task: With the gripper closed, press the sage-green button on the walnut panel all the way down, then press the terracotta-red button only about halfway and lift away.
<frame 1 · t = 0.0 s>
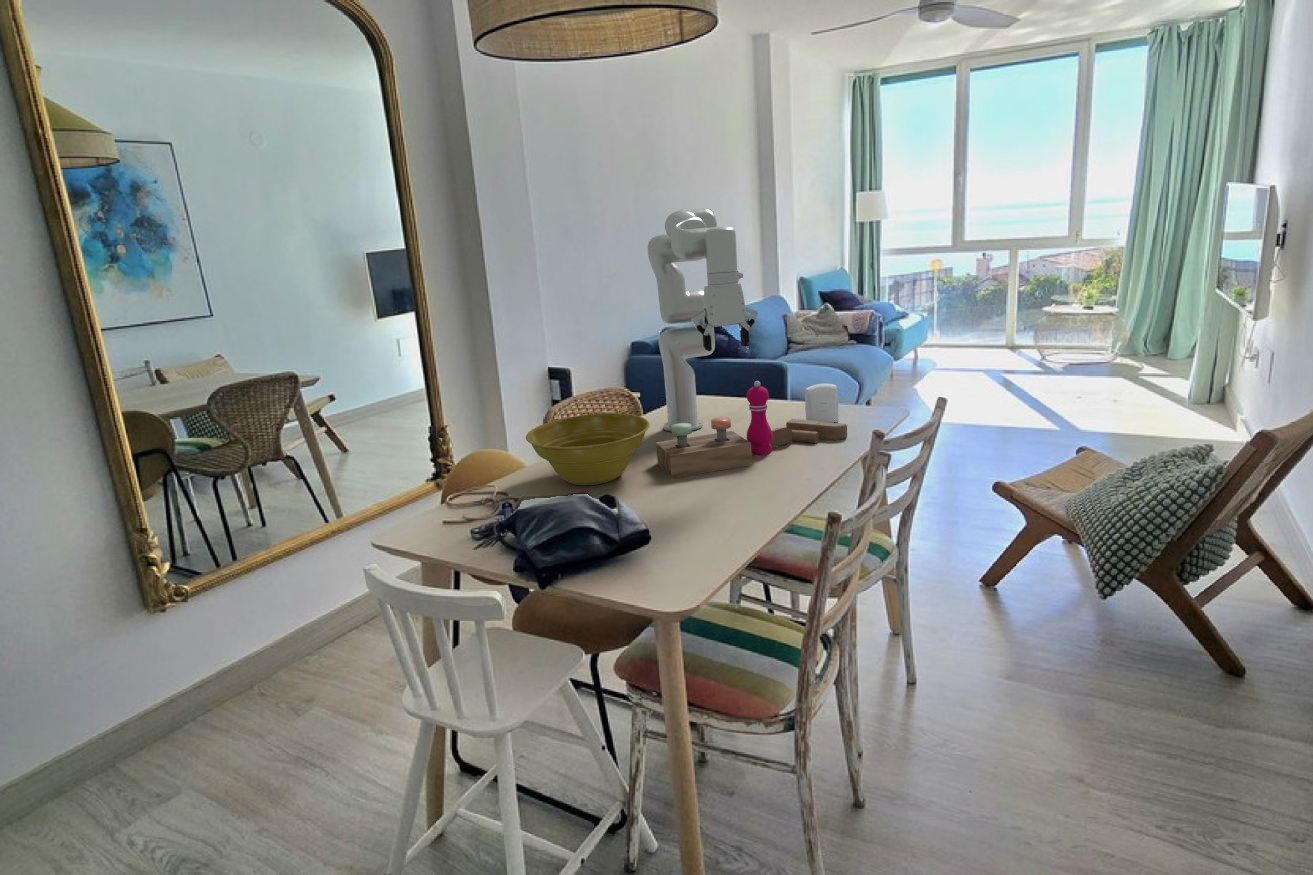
hand: (726, 348, 190), 31 cm above the table, tool pointing down, fingers open, 9 cm apart
green button: (682, 439, 198), point 8 cm above the table, slide at 0.0 cm
planter bowl: (593, 477, 198), on the table
pepper mill: (760, 452, 208), on the table
button panel: (703, 464, 201), on the table
photo printer: (822, 424, 232), on the table
wooden block set: (806, 444, 214), on the table
red button: (721, 433, 201), point 8 cm above the table, slide at 0.0 cm
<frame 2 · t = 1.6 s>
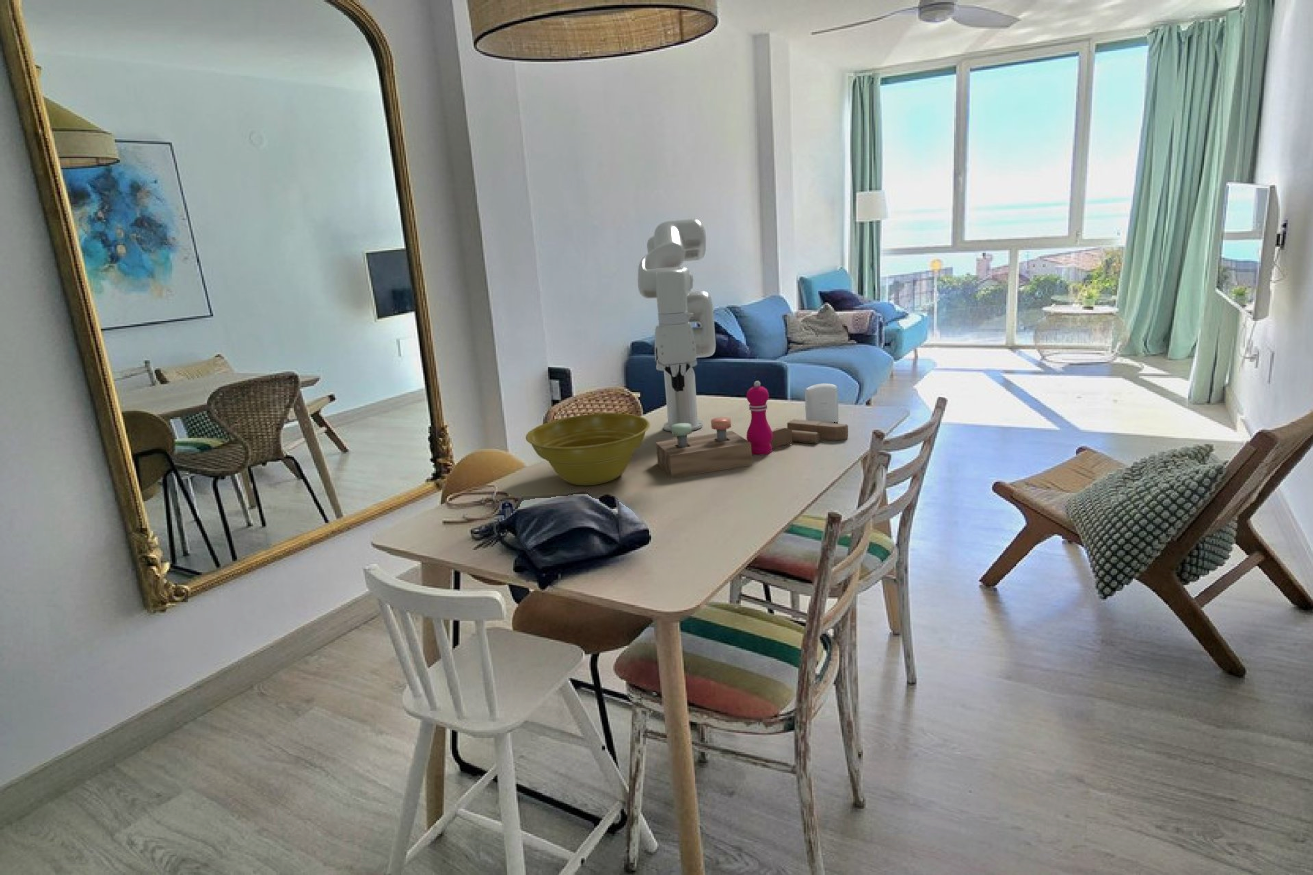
hand: (678, 390, 195), 21 cm above the table, tool pointing down, fingers closed
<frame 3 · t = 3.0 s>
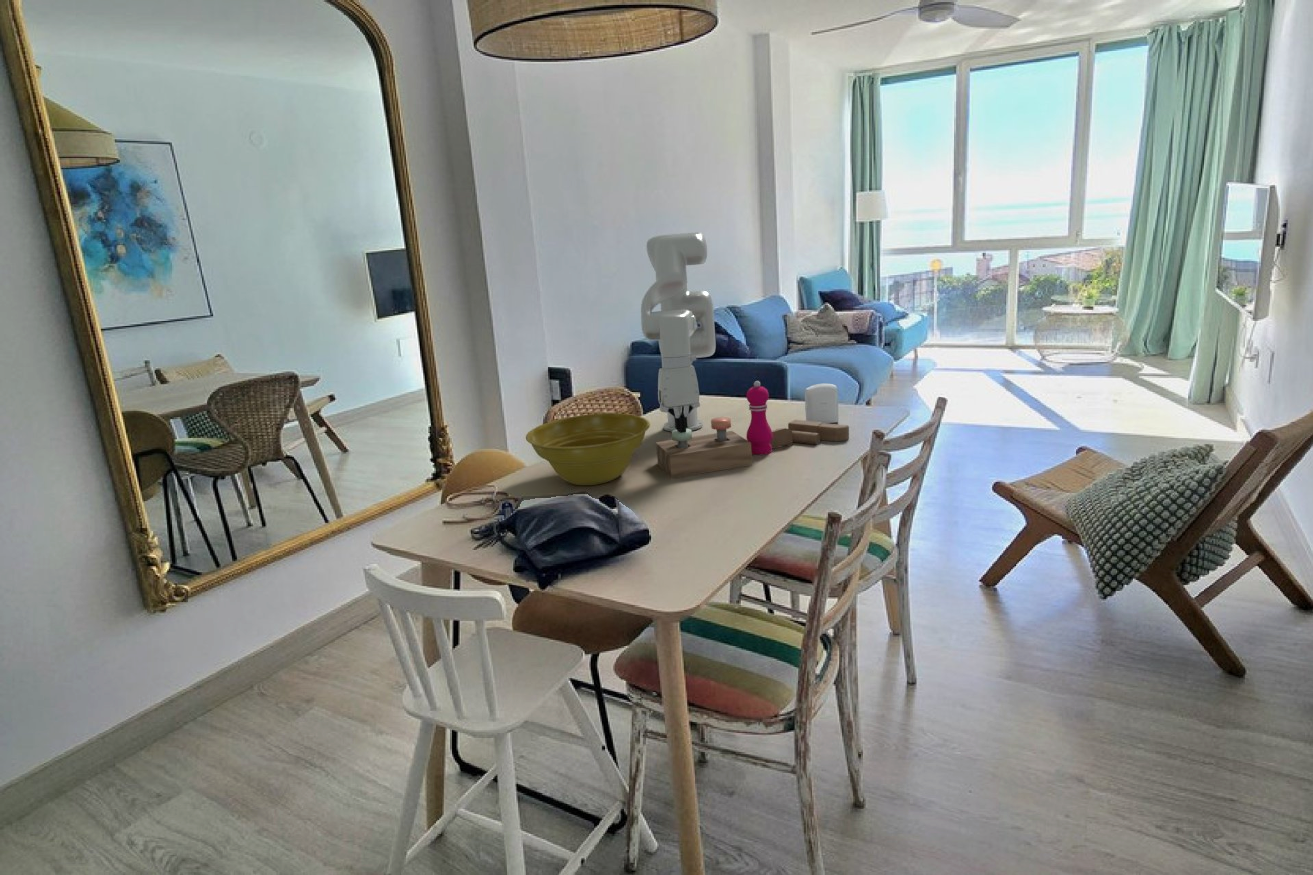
hand: (681, 431, 197), 10 cm above the table, tool pointing down, fingers closed
green button: (682, 444, 199), point 6 cm above the table, slide at 1.5 cm, touching gripper
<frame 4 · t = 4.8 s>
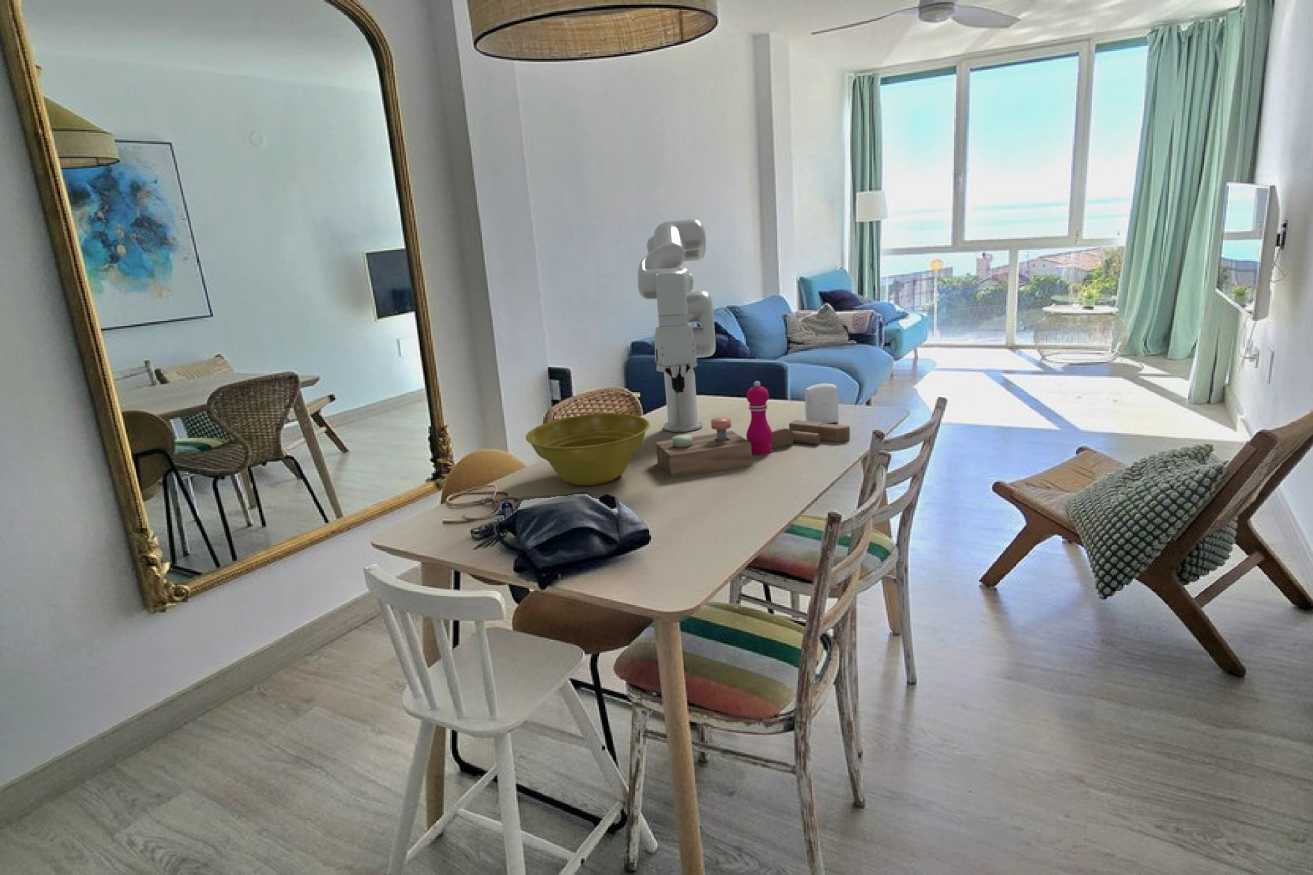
hand: (678, 391, 195), 21 cm above the table, tool pointing down, fingers closed
green button: (683, 450, 199), point 5 cm above the table, slide at 3.2 cm
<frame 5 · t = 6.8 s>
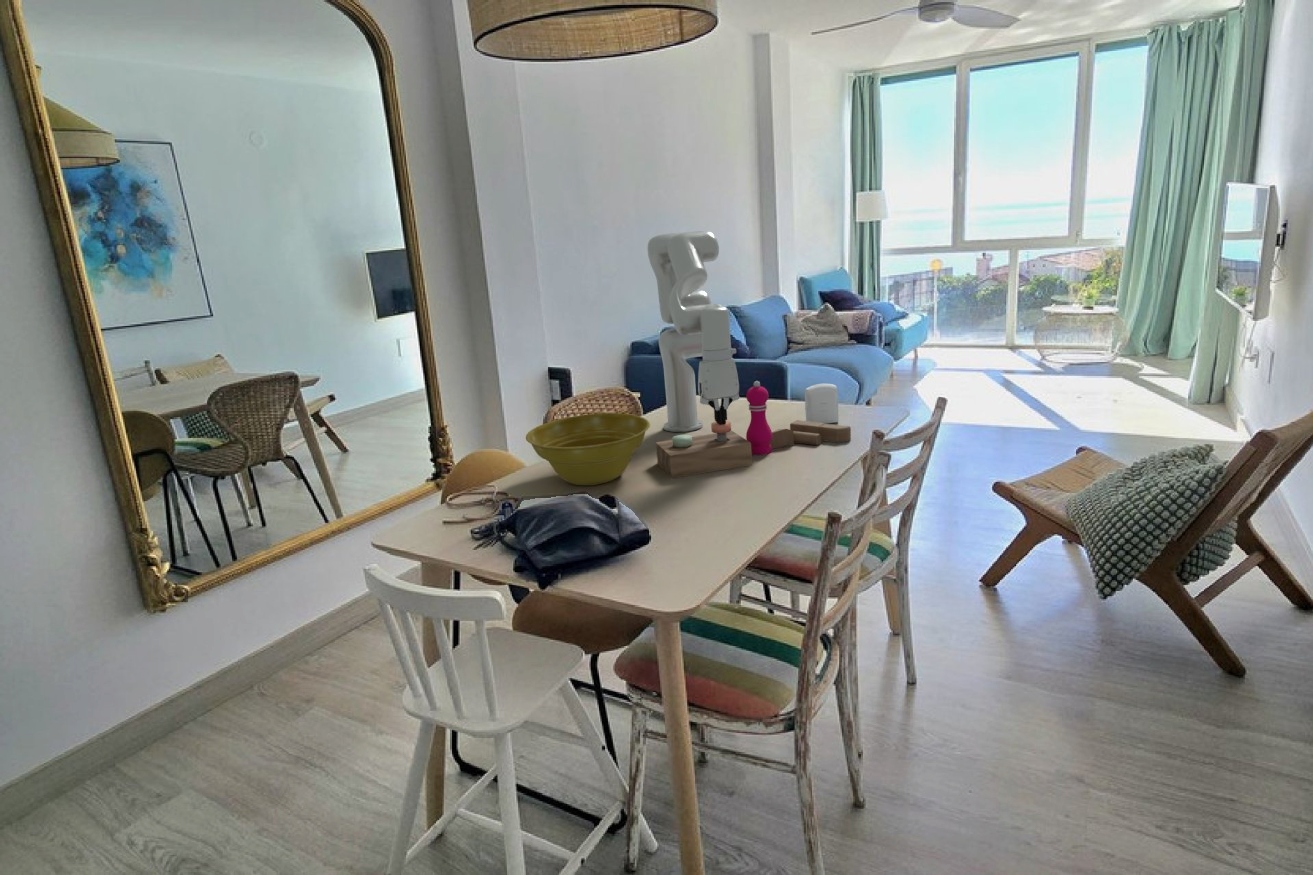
hand: (721, 423, 200), 11 cm above the table, tool pointing down, fingers closed
red button: (721, 436, 201), point 7 cm above the table, slide at 1.0 cm, touching gripper
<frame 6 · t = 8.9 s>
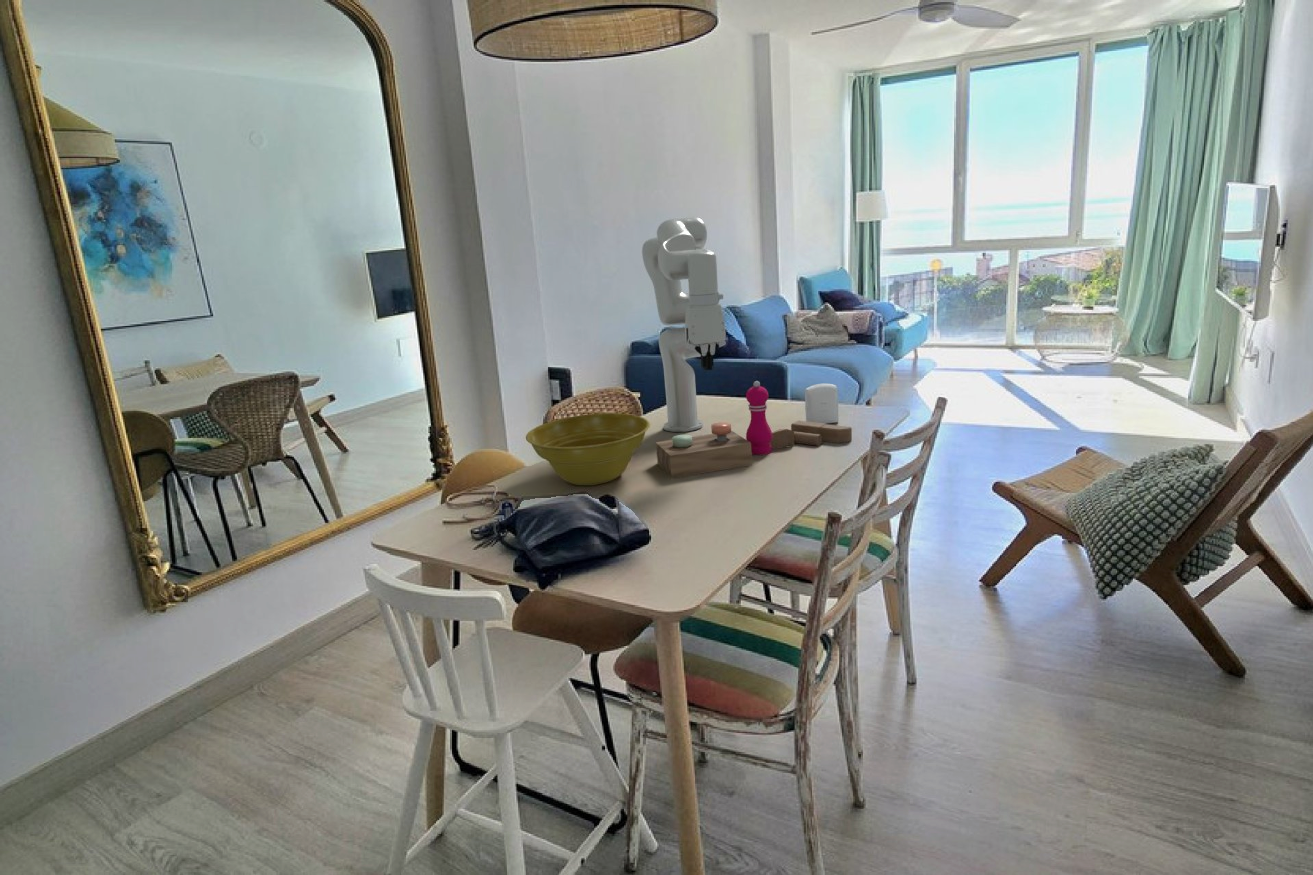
hand: (707, 369, 201), 24 cm above the table, tool pointing down, fingers closed
red button: (721, 438, 201), point 6 cm above the table, slide at 1.4 cm
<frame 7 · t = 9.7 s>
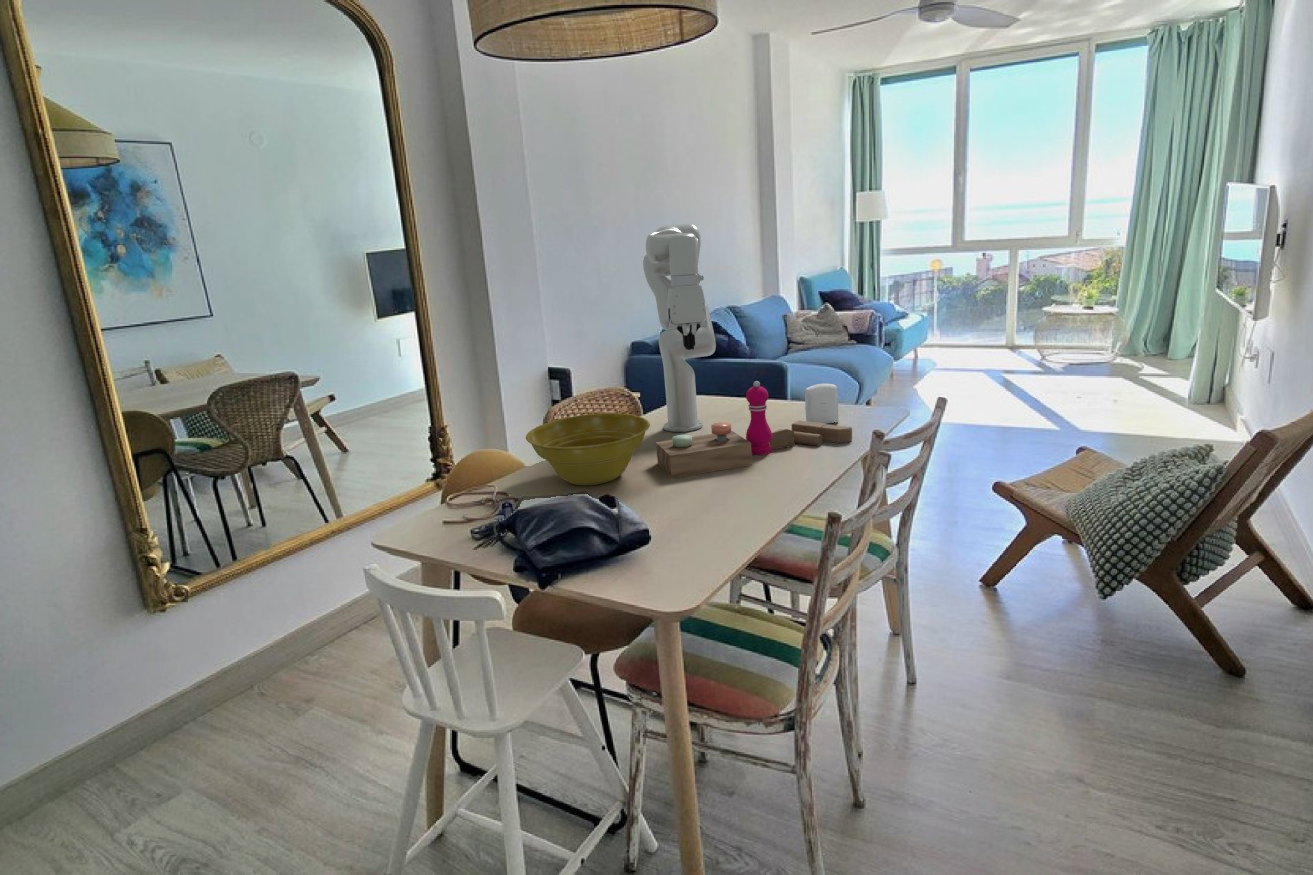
hand: (689, 348, 207), 29 cm above the table, tool pointing down, fingers closed
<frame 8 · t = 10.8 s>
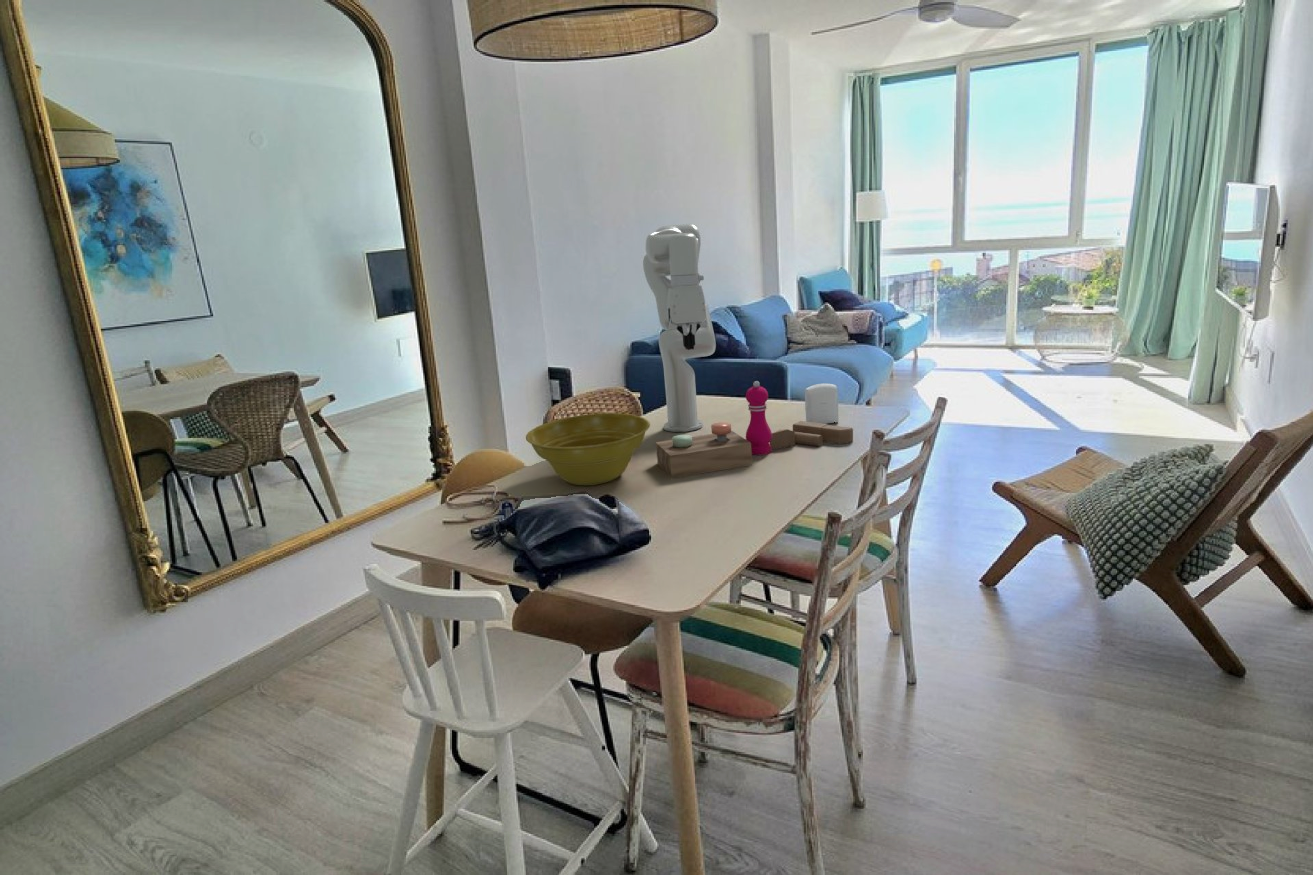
hand: (689, 348, 207), 29 cm above the table, tool pointing down, fingers closed
at the end: green button slide at 3.2 cm; red button slide at 1.4 cm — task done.
